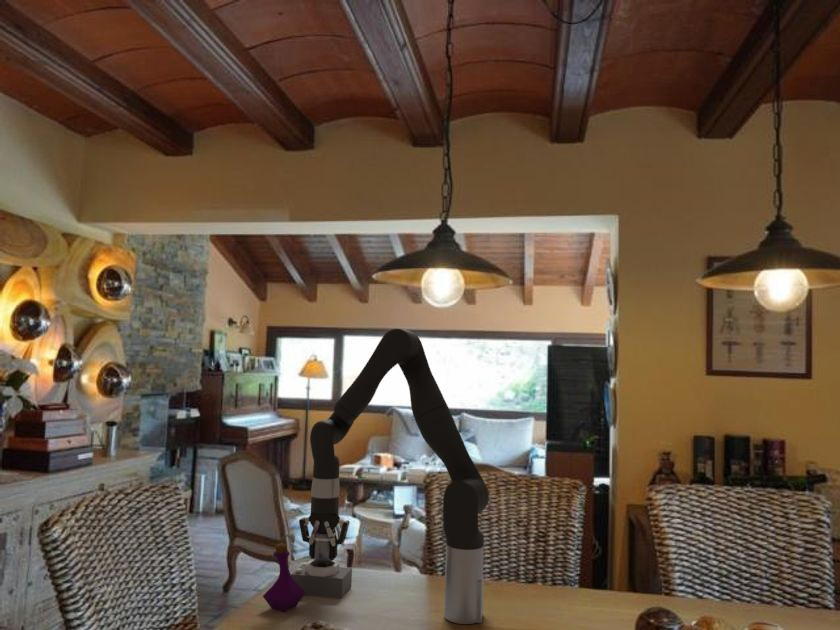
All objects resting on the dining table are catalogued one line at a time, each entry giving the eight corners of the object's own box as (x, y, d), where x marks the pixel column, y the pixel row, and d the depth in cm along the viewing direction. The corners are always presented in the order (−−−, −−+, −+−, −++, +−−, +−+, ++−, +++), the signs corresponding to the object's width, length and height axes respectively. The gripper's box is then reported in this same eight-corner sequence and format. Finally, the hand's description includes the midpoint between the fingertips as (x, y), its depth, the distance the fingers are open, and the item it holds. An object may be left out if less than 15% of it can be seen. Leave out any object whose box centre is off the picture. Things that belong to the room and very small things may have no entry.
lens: (334, 565, 172) (335, 531, 173) (328, 571, 167) (329, 535, 168) (316, 564, 173) (318, 529, 174) (310, 569, 168) (311, 534, 169)
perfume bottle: (261, 609, 155) (265, 534, 157) (281, 600, 162) (285, 528, 163) (285, 616, 152) (289, 539, 153) (305, 606, 159) (308, 532, 160)
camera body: (351, 586, 173) (352, 560, 174) (341, 598, 164) (342, 570, 165) (302, 582, 176) (303, 556, 176) (290, 593, 167) (291, 566, 167)
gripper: (354, 493, 174) (352, 556, 173) (304, 490, 177) (302, 552, 175) (346, 498, 167) (344, 565, 166) (295, 495, 169) (292, 560, 168)
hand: (322, 558), depth 171 cm, fingers closed on lens, 4 cm apart
